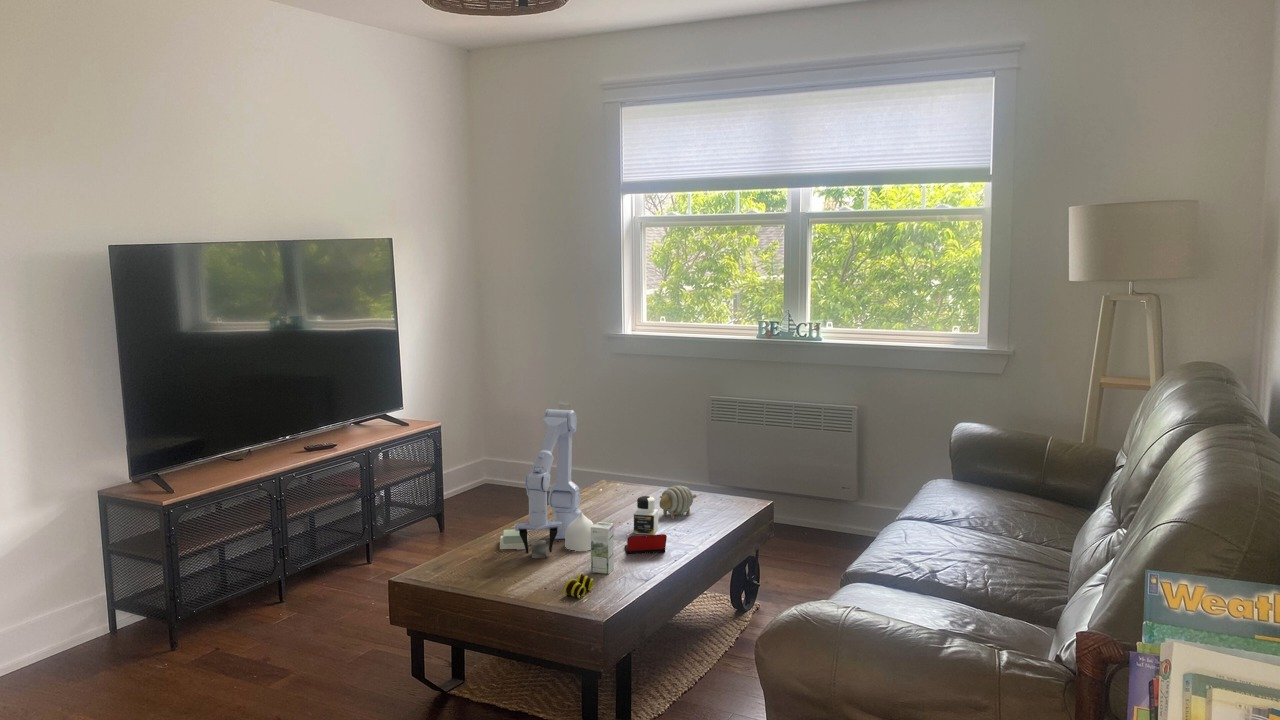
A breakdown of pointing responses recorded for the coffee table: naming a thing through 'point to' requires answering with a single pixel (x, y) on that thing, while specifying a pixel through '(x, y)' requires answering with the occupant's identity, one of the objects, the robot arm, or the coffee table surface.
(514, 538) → the tower top slab
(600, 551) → the syrup box
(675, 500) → the toy sheep
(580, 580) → the opera glasses
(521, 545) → the tower base slab
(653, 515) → the medicine bottle
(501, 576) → the coffee table surface
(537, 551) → the slate cube
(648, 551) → the handheld game console
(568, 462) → the robot arm
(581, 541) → the teardrop
